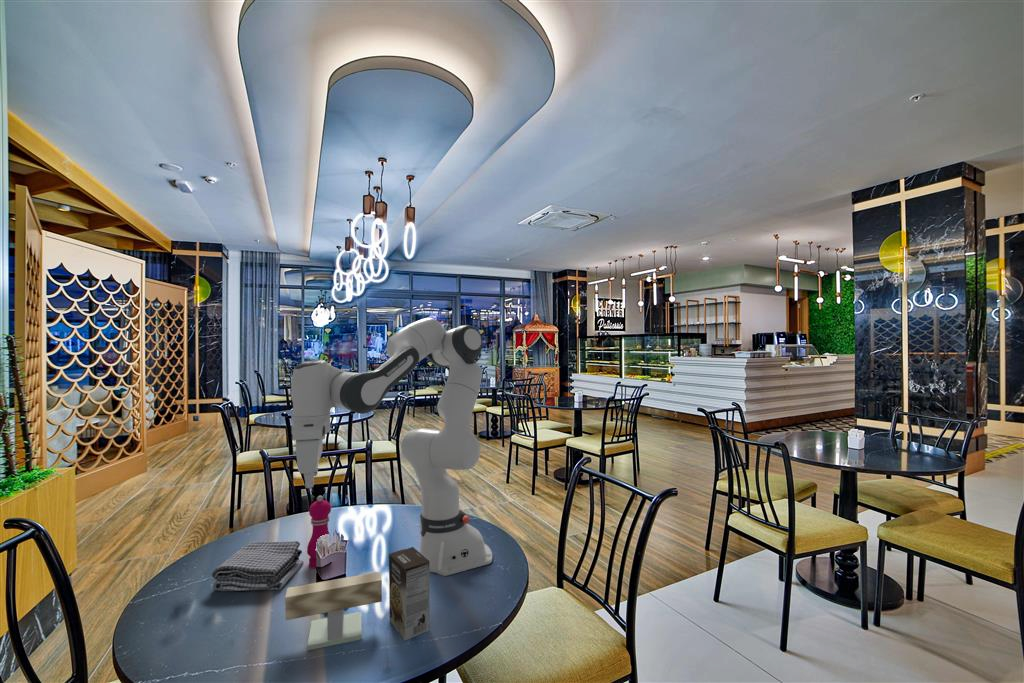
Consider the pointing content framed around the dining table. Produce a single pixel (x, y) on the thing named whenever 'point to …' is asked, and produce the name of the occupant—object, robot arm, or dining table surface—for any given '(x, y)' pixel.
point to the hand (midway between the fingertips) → (311, 481)
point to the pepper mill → (318, 526)
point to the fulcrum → (335, 629)
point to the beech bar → (333, 595)
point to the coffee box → (409, 592)
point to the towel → (259, 567)
